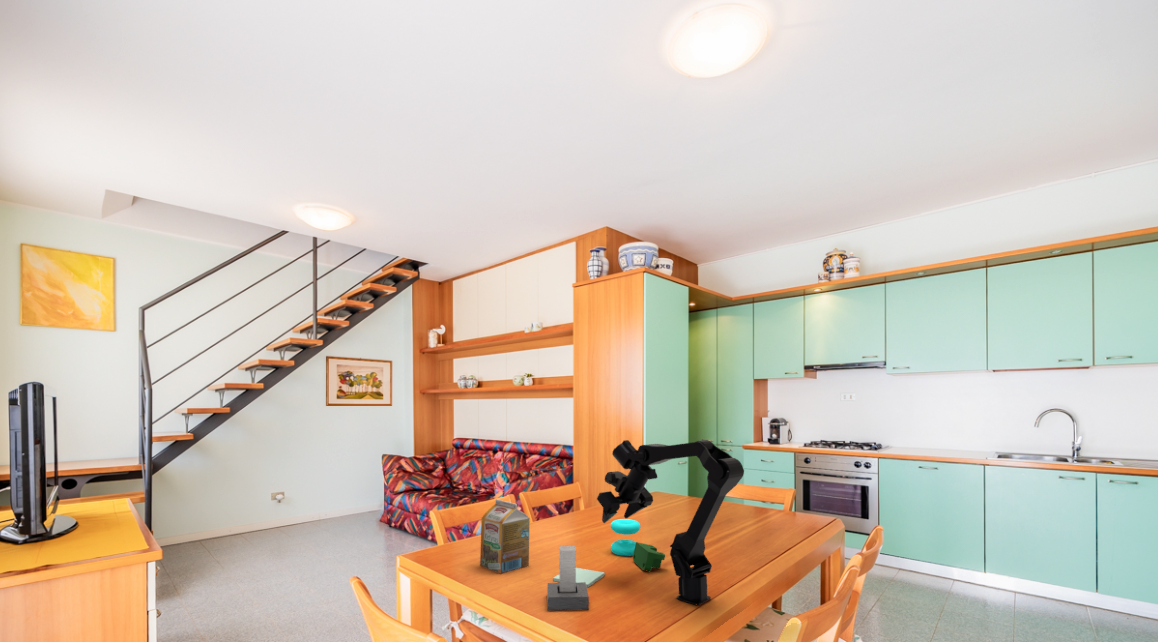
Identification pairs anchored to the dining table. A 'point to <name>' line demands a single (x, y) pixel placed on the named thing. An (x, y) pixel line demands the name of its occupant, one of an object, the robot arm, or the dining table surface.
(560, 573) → the peg
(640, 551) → the clamp
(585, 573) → the pad
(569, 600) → the socket block
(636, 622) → the dining table surface
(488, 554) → the milk carton
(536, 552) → the dining table surface
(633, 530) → the donuts
